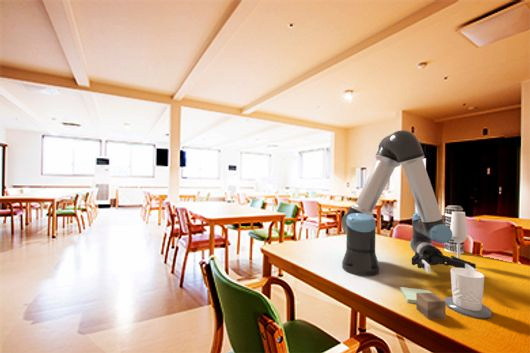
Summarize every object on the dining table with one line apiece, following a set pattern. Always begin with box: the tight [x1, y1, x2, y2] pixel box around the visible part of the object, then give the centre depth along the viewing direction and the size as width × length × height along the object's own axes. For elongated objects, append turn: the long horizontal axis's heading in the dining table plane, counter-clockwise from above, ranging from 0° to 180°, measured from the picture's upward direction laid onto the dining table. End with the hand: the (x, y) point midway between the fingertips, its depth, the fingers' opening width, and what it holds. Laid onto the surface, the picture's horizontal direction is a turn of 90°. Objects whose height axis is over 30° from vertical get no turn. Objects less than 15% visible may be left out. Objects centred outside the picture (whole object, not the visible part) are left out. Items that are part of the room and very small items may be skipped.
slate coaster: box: [444, 296, 493, 319], centre depth 73 cm, size 11×11×1 cm
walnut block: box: [415, 292, 447, 320], centre depth 70 cm, size 5×5×5 cm
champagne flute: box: [450, 211, 469, 259], centre depth 112 cm, size 7×7×24 cm
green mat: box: [399, 286, 432, 304], centre depth 79 cm, size 9×9×1 cm
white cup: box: [450, 267, 485, 311], centre depth 73 cm, size 8×8×10 cm
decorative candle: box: [442, 204, 465, 255], centre depth 132 cm, size 9×9×25 cm
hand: (452, 272), depth 82 cm, fingers open, 13 cm apart
